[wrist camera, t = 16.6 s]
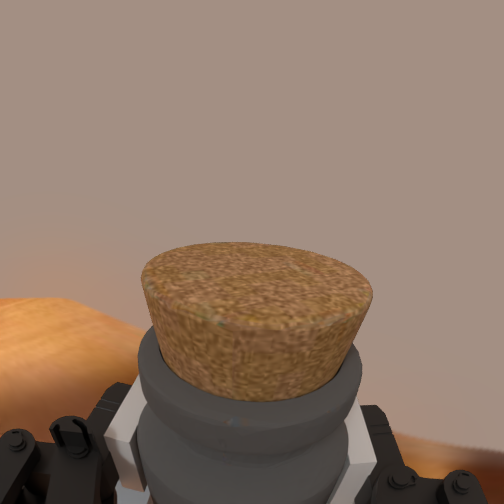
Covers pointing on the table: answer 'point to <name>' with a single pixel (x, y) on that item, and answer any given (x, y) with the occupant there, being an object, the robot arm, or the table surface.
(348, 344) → the bottle
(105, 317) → the table surface
